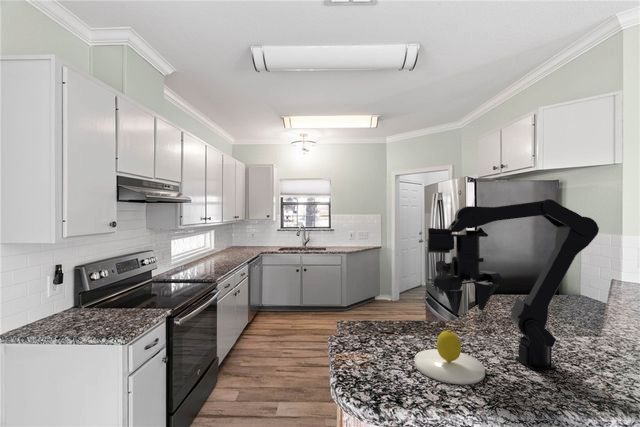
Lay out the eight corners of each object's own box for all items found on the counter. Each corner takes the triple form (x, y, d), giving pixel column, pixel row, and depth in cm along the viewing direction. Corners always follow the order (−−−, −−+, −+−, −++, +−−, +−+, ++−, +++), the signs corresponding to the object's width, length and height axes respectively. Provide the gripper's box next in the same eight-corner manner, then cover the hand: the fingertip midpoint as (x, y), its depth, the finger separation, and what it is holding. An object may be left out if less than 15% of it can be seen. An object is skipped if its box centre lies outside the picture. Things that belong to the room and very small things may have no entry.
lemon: (463, 368, 77) (463, 334, 77) (438, 366, 78) (438, 333, 78) (458, 358, 82) (458, 327, 82) (435, 356, 83) (435, 325, 84)
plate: (460, 352, 89) (460, 347, 89) (500, 381, 73) (500, 376, 73) (404, 355, 87) (404, 350, 87) (433, 386, 71) (433, 381, 71)
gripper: (468, 249, 98) (469, 301, 98) (419, 252, 91) (420, 308, 90) (502, 252, 88) (503, 310, 88) (450, 256, 80) (450, 320, 80)
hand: (468, 312), depth 87 cm, fingers open, 9 cm apart
